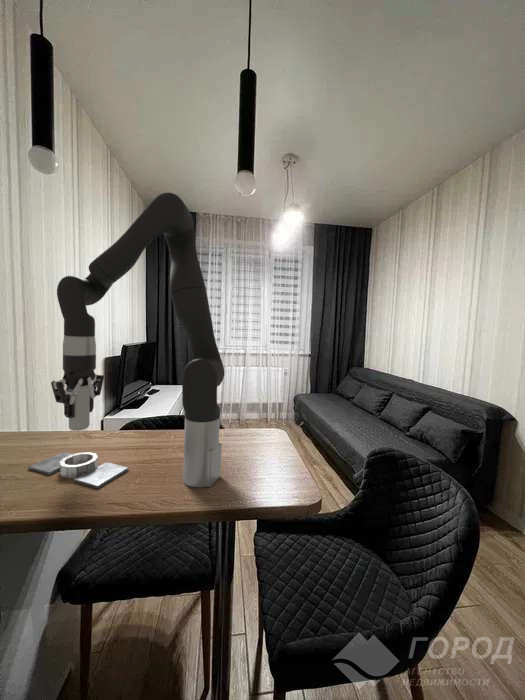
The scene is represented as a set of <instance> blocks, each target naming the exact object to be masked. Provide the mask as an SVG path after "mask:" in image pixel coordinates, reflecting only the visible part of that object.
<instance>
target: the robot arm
mask: <svg viewBox="0 0 525 700" xmlns="http://www.w3.org/2000/svg"><path fill="white" fill-rule="evenodd" d="M194 225H195V224H194V219H193V216H192V213H191V212H190V210H189V207H188V206H187V205H186V204H185V202H184V201H183V199H182V198H181V197H180V196H178V194H177V193H173V192H163V193H159V194H158V195H157V196H156V197H154V198H153V200H152V201H151V202H150V203H148V205H146V207H145V208H144V210H143V211H142V212H141V213H140V215H139V216H138V217H137V218H136V219H135V220H134V222H132V224H131V225H130V226H129V227H128V228H127V229H126V230H125V232H124V233H122V235H121V236H120V237H119V238H118V239H117V240H116V241H115V242H113V244H112V245H110V246H108V248H107V249H106V250H104V251H103V252H102V253H101V254H99V255H98V256H97V257H95V258H94V259H93V260H92V261H91V262H90V263H89V265H88V271H89V275H87V276H86V277H85V278H82V277H79V276H76V275H66V276H64V277H62V278H61V279H60V281H59V282H58V285H57V288H56V296H57V301H58V304H59V305H58V306H59V308H60V313H61V315H62V319H63V340H62V370H63V372H64V374H63V376H62V379H59V380H52V381H51V384H50V385H51V388H52V391H53V395H54V399H55V402H56V403H59V404H63V406H64V407H63V415H64V416H65V417H66V418H68V419H69V418H73V417H74V404H73V403H74V400H75V397H76V396H77V395H78V392H79V389H80V386H85V385H89V387H90V413H92V412H93V410H94V406H95V405H94V403H95V402H94V401H95V400H94V399H95V398H96V397H99V396H101V394H102V393H101V392H102V388H103V384H104V380H105V379H104V378H105V375H103V374H97V373H95V370H96V369H97V343H96V342H97V341H96V320H95V317H94V316H92V315H91V314H89V313H88V308H87V306H92V305H94V304H96V303H98V302H99V301H101V300H102V299H103V298H104V297H105V296H106V294H107V292H109V290H110V289H111V287H112V286H113V284H115V283H116V282H117V281H118V280H119V279H121V278H122V277H123V276H125V275H126V274H127V273H128V272H129V271H131V269H132V268H133V267H134V266H135V265H136V263H138V260H139V259H140V257H141V256H142V253H143V252H144V250H145V249H146V248H147V247H148V245H149V244H151V243H152V241H154V240H155V239H156V238H157V237H159V236H161V235H162V234H163V236H164V238H165V241H166V243H167V244H166V245H167V247H168V251H169V256H170V273H169V290H170V297H171V301H172V305H173V310H174V313H175V316H176V318H177V320H178V322H179V324H180V326H181V328H182V329H183V331H184V333H185V335H186V337H187V339H188V342H189V345H190V349H191V355H192V356H191V357H192V360H191V361H189V362H188V363H187V364H186V366H185V367H184V369H183V372H182V380H181V381H182V382H181V383H182V384H181V386H182V387H181V388H182V390H181V391H182V392H181V393H182V408H183V410H184V430H183V431H184V436H183V437H184V438H183V439H184V440H183V468H182V469H183V470H182V474H183V475H182V481H183V483H184V484H185V485H187V486H189V487H192V488H205V487H206V488H212V486H213V485H214V484H215V483H216V482H217V481H218V479H220V477H221V476H222V475H221V474H222V473H221V471H222V470H221V468H222V452H223V451H222V446H223V445H222V443H221V442H220V423H221V421H220V420H221V407H220V405H219V404H218V387H219V386H221V384H222V382H223V381H224V378H225V368H224V364H223V361H222V358H221V354H220V352H219V349H218V346H217V341H216V337H215V331H214V328H213V327H214V325H213V320H212V316H211V309H210V304H209V298H208V294H207V288H206V285H205V284H206V283H205V279H204V276H203V273H202V272H203V271H202V267H201V265H200V261H199V257H198V253H197V245H196V238H195V237H196V236H195V235H196V234H195V226H194ZM69 389H72V390H73V392H69ZM69 395H70V398H69Z"/></svg>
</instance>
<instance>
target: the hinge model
mask: <svg viewBox="0 0 525 700" xmlns="http://www.w3.org/2000/svg"><path fill="white" fill-rule="evenodd" d="M98 457H99V456H98V455H97V453H94V452H90V451H89V452H87V451H86V452H78V453H72V452H71V453H70V452H66V451H63V452H61V453H58V454H55V455H53V456H50V457H48V458H45V459H44V460H43V459H42V460H40V461H38V462H36V463H33V464H30V465H29V466H28V470H31V471H34V472H37V473H40V474H45V475H47V476H50V475H53V474H55V473H57V472H59V476H60V477H61V478H66V479H73V483H76V484H79V485H83V486H86V487H90V488H94V489H97V490H98V489H100V488H102V487H103V486H106V484H108V483H110V482H111V481H113V480H115V479H116V478H119V476H121V475H123V474H125V473H126V472H128V471H129V467H128V466H123V465H120V464H116V463H111V462H107V461H106V462H103V463H102V464H100V465H98V464H99V463H98V462H99V461H98Z"/></svg>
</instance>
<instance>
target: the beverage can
mask: <svg viewBox="0 0 525 700" xmlns="http://www.w3.org/2000/svg"><path fill="white" fill-rule="evenodd" d="M69 392H73V390H72V389H69ZM69 398H70V395H69ZM73 404H74V417H73V418H68V429H69V431H73V432H74V431H83V430H86V429H88V428H89V427H90V426H91V425H90V423H91V422H90V415H91V412H90V387H89V385H85V386H80V389H79V392H78V395H77V396H76V397H75V400H74V403H73Z"/></svg>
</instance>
